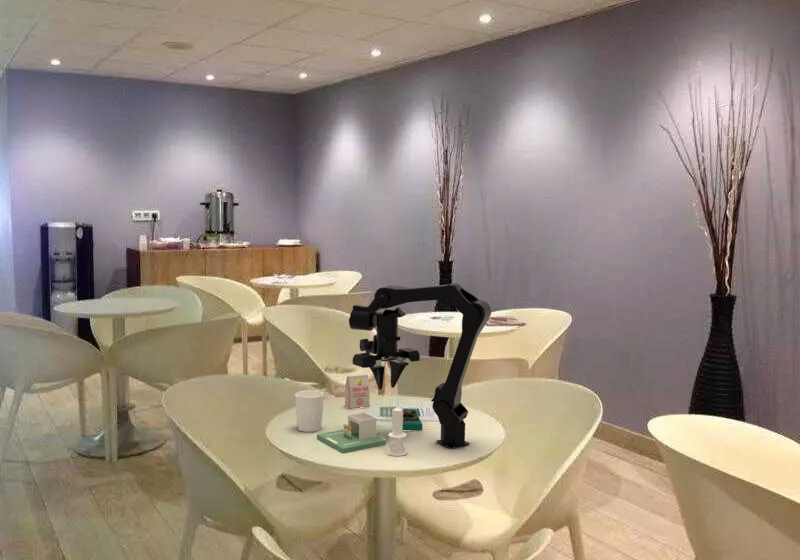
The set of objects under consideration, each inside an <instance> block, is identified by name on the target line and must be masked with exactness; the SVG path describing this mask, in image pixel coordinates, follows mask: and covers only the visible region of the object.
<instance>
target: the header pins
mask: <svg viewBox="0 0 800 560" xmlns="http://www.w3.org/2000/svg"><path fill="white" fill-rule="evenodd" d="M343 429H344V437H346V438H349V440H351V439H352V427H349V426H348V424H346V423H345V424H343Z"/></svg>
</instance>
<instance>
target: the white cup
mask: <svg viewBox="0 0 800 560" xmlns="http://www.w3.org/2000/svg"><path fill="white" fill-rule="evenodd" d="M294 395H295V412H296V413H295V415H296V423H297V426H296V427H297V430H298V431H300V432H305V433H314V432H319V431H320V430H322V424H323V423H322V421H323V412H324V397H325V395H324V392H322V391H319V390H312V389H311V390H310V389H309V390H301V391H297V392H296V393H295V394H294Z"/></svg>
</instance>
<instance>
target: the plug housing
mask: <svg viewBox="0 0 800 560" xmlns="http://www.w3.org/2000/svg"><path fill="white" fill-rule="evenodd" d="M347 426H349V427H352V434H353V433H358V432H359V439H360V440H362V439H367V438H372V437H376V436H377V418H376V417H374V416H372V415H370V414H367V413H365V412H359V413H355V414H349V415H347Z"/></svg>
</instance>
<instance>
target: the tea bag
mask: <svg viewBox="0 0 800 560" xmlns="http://www.w3.org/2000/svg"><path fill="white" fill-rule="evenodd" d="M370 391H371V390H370V382H369V375H368V374H362V375H348V376H346V381H345V388H344V407H345V408H346V407H347V408H348V410H349V409H350V410H353V409H352V408H360V407H369V408H370ZM347 408H346V409H347Z"/></svg>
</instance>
